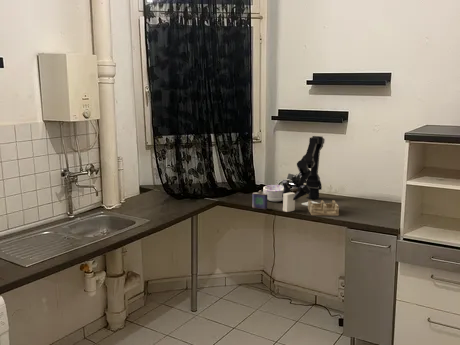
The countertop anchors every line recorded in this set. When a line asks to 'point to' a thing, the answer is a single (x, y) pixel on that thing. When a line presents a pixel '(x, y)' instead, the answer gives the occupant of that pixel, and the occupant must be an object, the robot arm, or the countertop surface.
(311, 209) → the rack
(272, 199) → the paper bowls
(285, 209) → the white rectangular block
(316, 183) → the robot arm
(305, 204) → the drying mat
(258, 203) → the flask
